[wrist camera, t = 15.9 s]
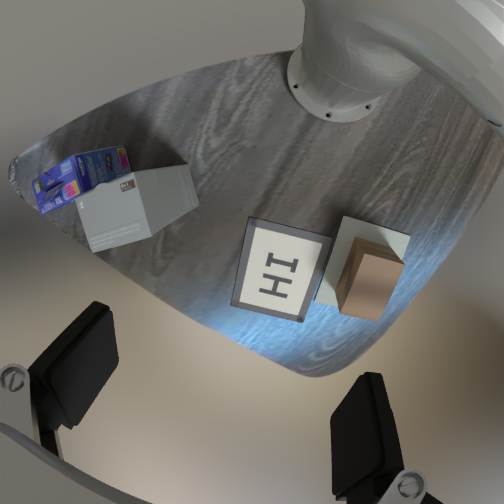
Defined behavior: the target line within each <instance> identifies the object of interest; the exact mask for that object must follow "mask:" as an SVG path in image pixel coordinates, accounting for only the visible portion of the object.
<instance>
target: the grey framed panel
mask: <svg viewBox="0 0 504 504" xmlns="http://www.w3.org/2000/svg"><path fill="white" fill-rule="evenodd" d="M332 240H333V238H332V237H328V236H324V235H320V234H316V233H313V232H309V231H305V230H301V229H297V228H293V227H289V226H285V225H281V224H277V223H273V222H269V221H265V220H261V219H256V218H252V217H249V220H248V225H247V230H246V234H245V239H244V244H243V249H242V253H241V258H240V263H239V268H238V273H237V278H236V282H235V287H234V292H233V297H232V302H231V306H234V307H238V308H242V309H246V310H250V311H254V312H258V313H262V314H266V315H270V316H274V317H279V318H283V319H287V320H292V321H296V322H301V323H303V321H304V319H305V316H306V313H307V311H308V308H309V306H310V303H311V300H312V297H313V295H314V292H315V289H316V286H317V284H318V281H319V278H320V275H321V272H322V269H323V267H324V264H325V261H326V258H327V255H328V252H329V249H330V246H331V243H332Z"/></svg>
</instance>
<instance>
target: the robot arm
mask: <svg viewBox="0 0 504 504" xmlns="http://www.w3.org/2000/svg"><path fill="white" fill-rule="evenodd" d="M303 3H304V5H305V23H304V35H303V43H302V44H300V45H299V46H298V48H296V49H295V51H294V52H293V54H292V55H291V57H290V60H289V63H288V68H287V79H288V84H289V88H290V90H291V92H292V95H293V96H294V98H295V99H296V101H297V102H298V103H299V104H300V105H301V106H302V107H303V108H304V109H305V110H306V111H307V112H309V113H310V114H311V115H313V116H315V117H317V118H319V119H322V120H325V121H328V122H334V123H348V122H353V121H357V120H359V119H362V118H363V117H365V116H367V115H369V114H370V113H371V112H372V111H373V110H374V109H375V108H376V106H377V105H378V103H379V101H380V99H381V97H382V95H383V94H386V93H388V92H390V91H392V90H394V89H396V88H399V87H401V86H403V85H405V84H407V83H408V82H410V81H411V80H413V79H414V78H415V77H416V76H417V75H418V73H419V72H420V71H421V69H423V70H425V71H426V72H427V73H429V74H430V75H431V76H433V77H434V78H435V79H437V80H438V81H440V82H442V83H444V84H445V85H446V86H447V87H448V88H450V89H451V90H452V91H453V92H454V93H456V94H457V95H458V96H459V97H460V98H461V99H462V100H463V101H465V102H466V103H467V104H468V105H469V106H470V107H471V108H472V109H473V110H474V111H475V112H476V113H477V114H478V115H479V116H480V117H481V118H482V119H483V120H484V121H485V122H486V123H487V124H488V125H489V126H490V127H491V128H492V129H493V130H494V131H495V132H496V133H497V134H498V135H499V137H500V138H501V139H502V140H503V141H504V0H303ZM295 85H297V86H298V88H294V86H295ZM365 106H368V109H366V108H365ZM326 114H329V115H330V116H329V117H326ZM118 362H119V357H118V351H117V344H116V337H115V329H114V321H113V313H112V311H110V308H109V306H107V305H105V304H102V303H100V302H97V301H94V302H92V303H91V305H89V306H88V307H87V308H86V309H85V310H84V311H83V312H82V313H81V314H80V315H79V316H78V317H77V318H76V319H75V320H74V321H73V322H72V323H71V324H70V325H69V326H68V327H67V328H66V329H65V330H64V331H63V332H62V333H61V334H60V335H59V336H58V337H57V338H56V339H55V340H54V341H53V342H52V343H51V344H50V345H49V346H48V348H47V349H46V350H45V351H44V352H43V353H42V354H41V355H40V356H39V357H38V358H37V359H36V361H35V362H34V363H33V364H32V365H31V366H30V367H29V369H26V368H24V367H23V366H22V365H19V364H9V365H7V366H4V367H3V368H2V369H1V370H0V504H152V503H149V502H146V501H144V500H141V499H139V498H136V497H134V496H132V495H129V494H127V493H124V492H122V491H120V490H118V489H115V488H114V487H111V486H109V485H107V484H105V483H103V482H101V481H99V480H97V479H95V478H93V477H91V476H90V475H88V474H86V473H84V472H83V471H81V470H79V469H77V468H75V467H74V466H72V465H70V464H69V463H67V462H65V461H64V458H63V454H62V449H61V445H60V440H59V435H58V428H59V427H60V425H61V424H62V425H64V426H65V427H67V428H69V429H70V430H71V429H72V428H73V426H77V425H78V424H79V423H80V421H81V420H82V418H83V417H84V415H85V414H86V412H87V411H88V409H89V407H90V406H91V404H92V403H93V401H94V400H95V398H96V397H97V395H98V394H99V392H100V391H101V389H102V388H103V386H104V385H105V383H106V382H107V380H108V379H109V377H110V376H111V374H112V373H113V372H114V370H115V369H116V367H117V365H118ZM330 428H331V453H332V454H331V455H332V493H333V495H336V501H347V504H443V503H442V502H440V501H439V500H437V499H436V498H434V497H433V496H432V495H430V494H428V493H427V492H426V490H427V481H426V478H425V476H424V475H423V474H422V473H421V472H420V471H418V470H416V469H410V468H409V469H404V464H403V458H402V453H401V448H400V443H399V438H398V433H397V429H396V424H395V420H394V416H393V412H392V410H391V408H390V404H389V400H388V396H387V392H386V388H385V385H384V381H383V377H382V375H381V374H380V373H374V372H365V373H364V374H363V375H360V376H359V377H358V379H357V380H356V382H355V383H354V385H353V386H352V388H351V389H350V391H349V392H348V393H347V395H346V396H345V398H344V399H343V400H342V402H341V403H340V404H339V406H338V407H337V408H336V410H335V411H334V413H333V414H332V416H331V420H330Z"/></svg>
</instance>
